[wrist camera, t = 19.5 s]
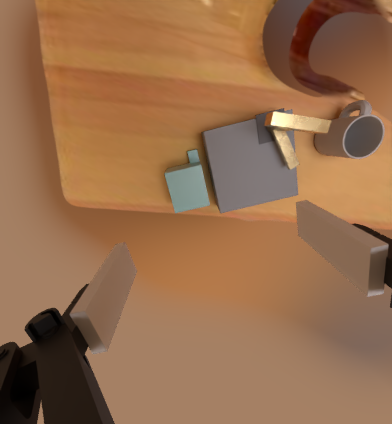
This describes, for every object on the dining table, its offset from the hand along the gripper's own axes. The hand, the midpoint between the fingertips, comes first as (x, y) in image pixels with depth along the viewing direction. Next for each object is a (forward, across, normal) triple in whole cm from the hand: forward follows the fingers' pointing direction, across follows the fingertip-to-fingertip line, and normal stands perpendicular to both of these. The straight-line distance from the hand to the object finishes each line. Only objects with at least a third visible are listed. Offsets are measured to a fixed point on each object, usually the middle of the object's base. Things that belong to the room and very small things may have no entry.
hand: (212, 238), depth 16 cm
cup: (+32, +30, +2) cm, 44 cm away
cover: (+32, -2, -1) cm, 32 cm away
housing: (+31, +11, 0) cm, 33 cm away
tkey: (+25, +15, +3) cm, 29 cm away
